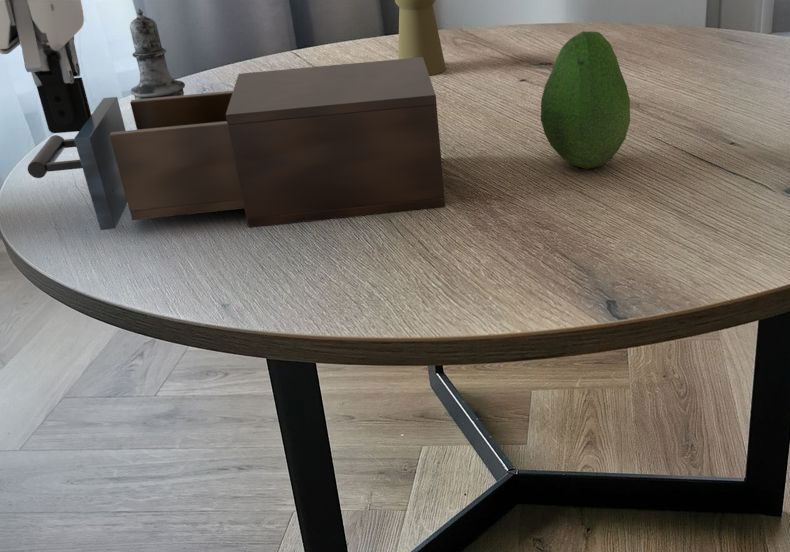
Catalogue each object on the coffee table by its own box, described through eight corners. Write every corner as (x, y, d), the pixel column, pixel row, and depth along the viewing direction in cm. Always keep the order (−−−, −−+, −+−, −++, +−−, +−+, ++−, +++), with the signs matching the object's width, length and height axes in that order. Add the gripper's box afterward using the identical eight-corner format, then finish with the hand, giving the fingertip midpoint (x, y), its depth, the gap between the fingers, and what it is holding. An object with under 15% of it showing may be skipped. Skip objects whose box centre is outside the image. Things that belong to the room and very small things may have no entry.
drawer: (38, 236, 78) (8, 144, 74) (70, 187, 88) (45, 103, 84) (290, 210, 80) (274, 119, 76) (294, 164, 90) (280, 81, 86)
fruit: (547, 183, 85) (542, 46, 79) (538, 154, 92) (533, 25, 86) (636, 177, 85) (639, 39, 79) (621, 147, 92) (623, 18, 86)
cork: (436, 77, 117) (428, -18, 112) (390, 75, 119) (380, -18, 113) (452, 64, 122) (445, -28, 116) (408, 63, 124) (399, -27, 118)
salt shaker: (190, 108, 111) (167, 0, 105) (193, 122, 106) (168, 10, 100) (138, 115, 110) (110, 6, 104) (137, 130, 105) (109, 17, 99)
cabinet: (248, 227, 80) (225, 114, 75) (257, 175, 91) (238, 73, 86) (445, 206, 82) (435, 94, 77) (432, 157, 92) (422, 56, 88)
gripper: (-16, -120, 77) (47, 106, 86) (-85, -101, 64) (-2, 163, 73) (82, -125, 77) (133, 100, 87) (33, -106, 65) (100, 155, 74)
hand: (71, 128), depth 80 cm, fingers closed
